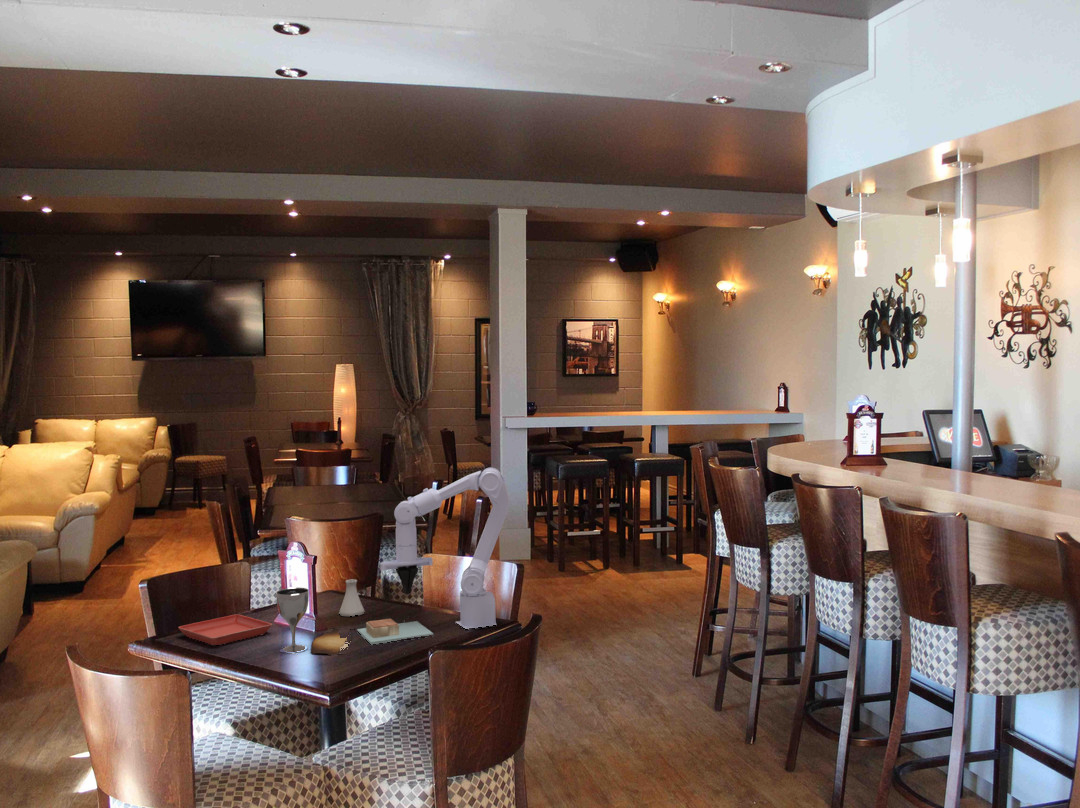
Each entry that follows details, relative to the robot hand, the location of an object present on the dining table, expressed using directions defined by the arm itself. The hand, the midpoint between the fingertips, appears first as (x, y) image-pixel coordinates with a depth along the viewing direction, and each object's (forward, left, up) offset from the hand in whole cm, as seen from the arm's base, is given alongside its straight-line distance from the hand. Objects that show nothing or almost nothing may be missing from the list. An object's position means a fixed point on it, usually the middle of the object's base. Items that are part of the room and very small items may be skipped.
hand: (407, 593), depth 247 cm
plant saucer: (+46, -16, -10) cm, 50 cm away
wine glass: (+32, +6, -10) cm, 34 cm away
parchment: (+22, +4, -10) cm, 25 cm away
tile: (+5, +6, -7) cm, 11 cm away
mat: (+5, +5, -9) cm, 12 cm away
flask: (+10, -22, -10) cm, 26 cm away
